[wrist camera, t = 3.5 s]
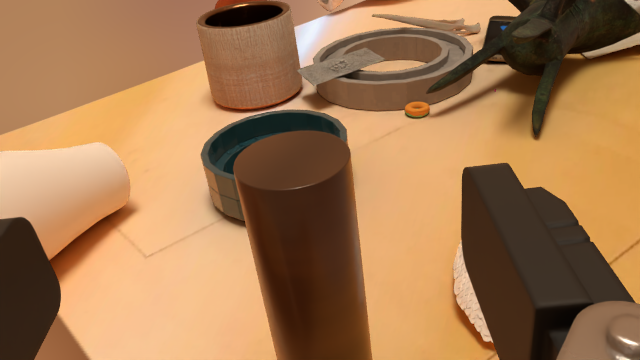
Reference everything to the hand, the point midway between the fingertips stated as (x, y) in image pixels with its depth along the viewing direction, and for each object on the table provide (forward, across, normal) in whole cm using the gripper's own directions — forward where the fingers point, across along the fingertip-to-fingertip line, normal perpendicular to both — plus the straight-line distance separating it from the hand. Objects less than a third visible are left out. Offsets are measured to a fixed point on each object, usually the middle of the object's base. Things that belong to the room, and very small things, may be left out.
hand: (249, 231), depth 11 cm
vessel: (+40, -14, +15) cm, 45 cm away
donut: (+46, -14, +19) cm, 52 cm away
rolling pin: (+10, 0, +20) cm, 22 cm away
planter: (+56, +7, +20) cm, 60 cm away
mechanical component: (+56, -9, +20) cm, 60 cm away
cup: (+35, +18, +17) cm, 43 cm away
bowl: (+34, +4, +20) cm, 40 cm away
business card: (+52, -3, +17) cm, 55 cm away
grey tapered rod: (+66, -15, +15) cm, 69 cm away
